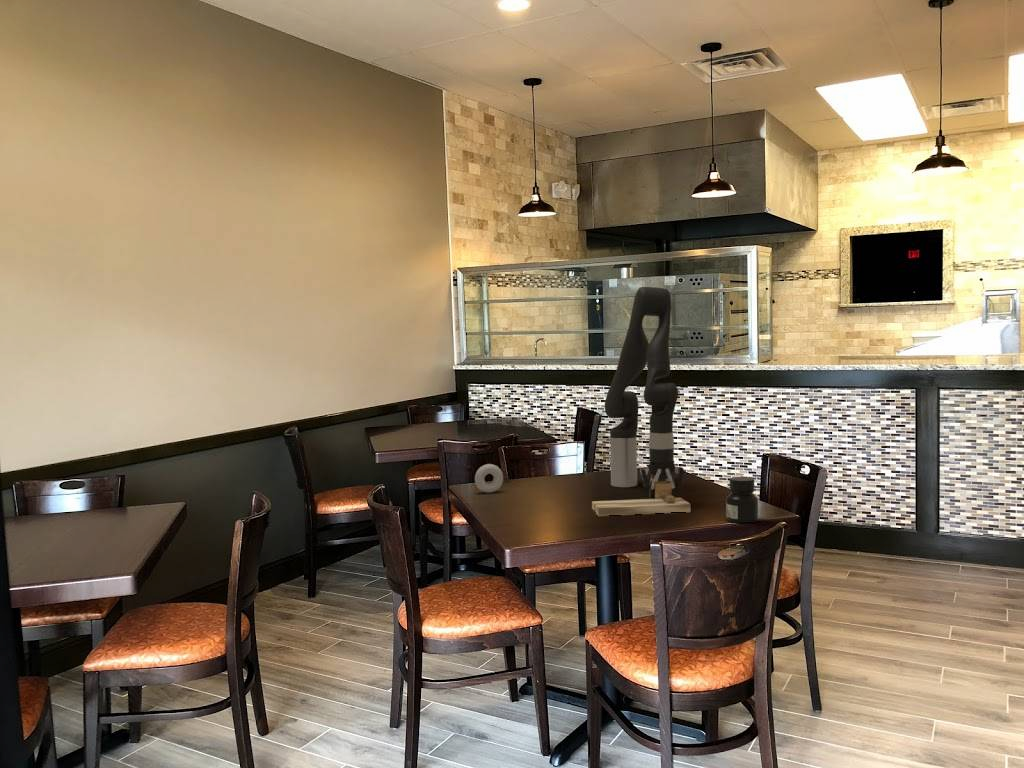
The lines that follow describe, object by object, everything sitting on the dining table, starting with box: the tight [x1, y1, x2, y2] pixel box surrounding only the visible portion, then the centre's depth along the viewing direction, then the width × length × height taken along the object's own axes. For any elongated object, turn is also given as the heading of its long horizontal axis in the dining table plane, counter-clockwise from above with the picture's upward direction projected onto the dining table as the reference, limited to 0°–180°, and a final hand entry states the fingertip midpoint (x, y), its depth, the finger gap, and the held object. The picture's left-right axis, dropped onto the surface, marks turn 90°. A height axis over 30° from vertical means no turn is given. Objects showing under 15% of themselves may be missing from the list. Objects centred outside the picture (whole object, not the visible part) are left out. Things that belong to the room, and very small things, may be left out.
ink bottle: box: [725, 476, 759, 524], centre depth 245 cm, size 10×9×12 cm
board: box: [591, 497, 692, 517], centre depth 260 cm, size 10×28×2 cm, turn 96°
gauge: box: [654, 480, 676, 503], centre depth 265 cm, size 14×5×7 cm, turn 6°
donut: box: [474, 463, 504, 494], centre depth 294 cm, size 10×4×10 cm, turn 105°
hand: (661, 500), depth 269 cm, fingers closed on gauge, 5 cm apart
